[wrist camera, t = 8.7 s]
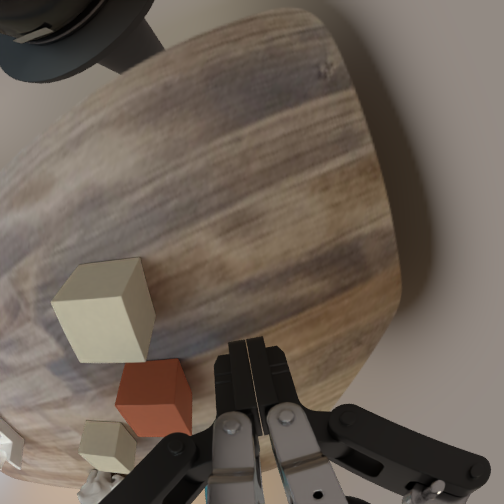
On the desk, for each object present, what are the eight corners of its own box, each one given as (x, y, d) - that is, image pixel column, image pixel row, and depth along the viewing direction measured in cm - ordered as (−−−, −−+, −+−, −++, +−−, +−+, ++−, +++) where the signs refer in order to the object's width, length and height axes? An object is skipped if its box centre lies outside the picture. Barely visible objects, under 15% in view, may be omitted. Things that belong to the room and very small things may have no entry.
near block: (78, 264, 18) (50, 301, 14) (140, 256, 19) (121, 296, 14) (99, 320, 21) (80, 363, 16) (156, 316, 21) (146, 362, 16)
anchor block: (125, 361, 23) (114, 405, 18) (178, 357, 23) (174, 404, 18) (144, 396, 25) (138, 437, 20) (192, 393, 25) (192, 436, 21)
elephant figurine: (156, 480, 35) (155, 524, 27) (115, 486, 36) (112, 523, 28) (111, 459, 31) (105, 508, 23) (74, 466, 32) (67, 505, 24)
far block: (85, 420, 26) (77, 452, 22) (120, 422, 26) (114, 457, 22) (104, 440, 28) (98, 470, 24) (137, 442, 29) (133, 474, 24)
